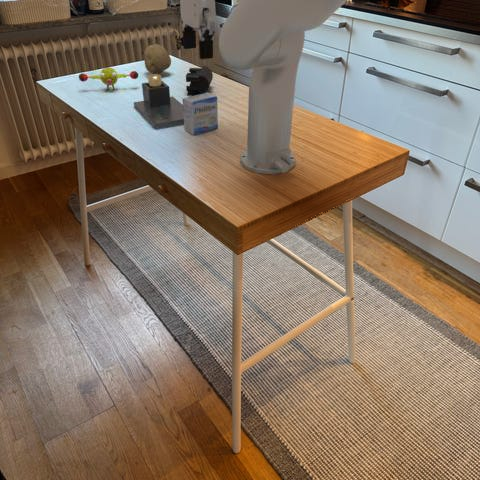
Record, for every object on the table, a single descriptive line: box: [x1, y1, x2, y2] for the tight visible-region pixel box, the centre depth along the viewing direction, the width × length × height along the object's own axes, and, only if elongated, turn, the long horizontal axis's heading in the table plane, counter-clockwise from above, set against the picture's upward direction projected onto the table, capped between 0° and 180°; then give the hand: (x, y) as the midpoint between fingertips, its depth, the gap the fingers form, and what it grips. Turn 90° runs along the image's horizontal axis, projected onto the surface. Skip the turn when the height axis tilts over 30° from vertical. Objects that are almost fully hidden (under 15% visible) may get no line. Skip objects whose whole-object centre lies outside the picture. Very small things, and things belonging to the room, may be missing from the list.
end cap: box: [185, 65, 214, 97], centre depth 140 cm, size 10×7×7 cm
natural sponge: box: [143, 43, 172, 75], centre depth 153 cm, size 9×9×10 cm
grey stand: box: [133, 80, 184, 130], centre depth 124 cm, size 18×12×6 cm, turn 28°
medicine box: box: [182, 92, 219, 136], centre depth 115 cm, size 8×4×9 cm, turn 129°
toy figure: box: [78, 67, 139, 91], centre depth 140 cm, size 18×6×7 cm, turn 103°
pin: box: [147, 73, 163, 88], centre depth 126 cm, size 4×4×5 cm
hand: (197, 53), depth 107 cm, fingers open, 9 cm apart
